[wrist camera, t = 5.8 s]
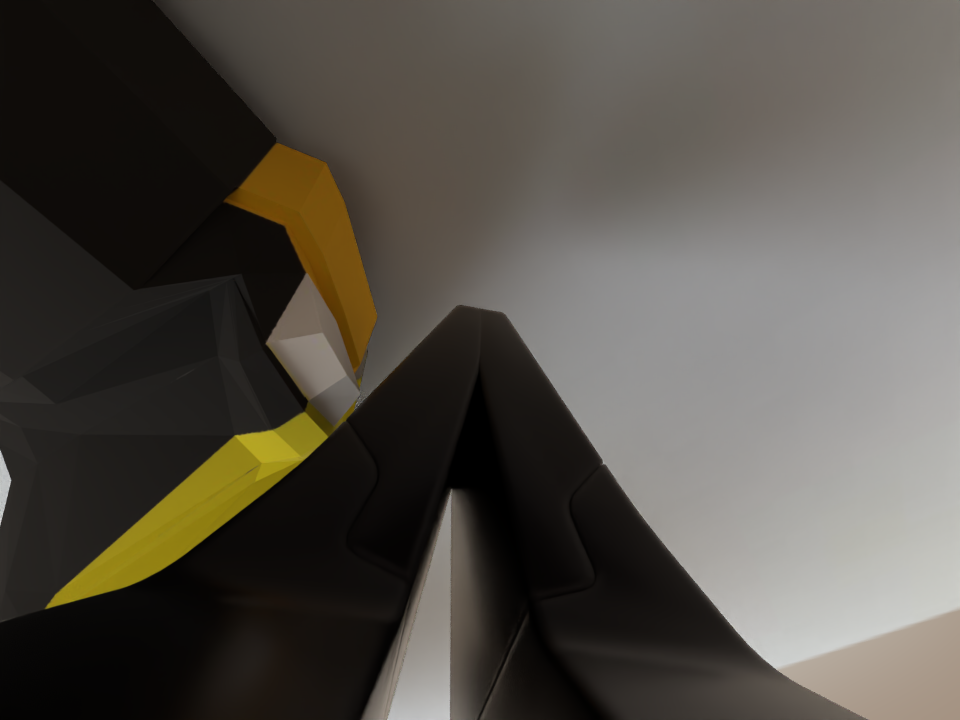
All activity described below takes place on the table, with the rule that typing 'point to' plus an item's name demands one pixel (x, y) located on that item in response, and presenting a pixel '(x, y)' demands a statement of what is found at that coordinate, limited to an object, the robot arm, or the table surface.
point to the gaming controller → (153, 300)
